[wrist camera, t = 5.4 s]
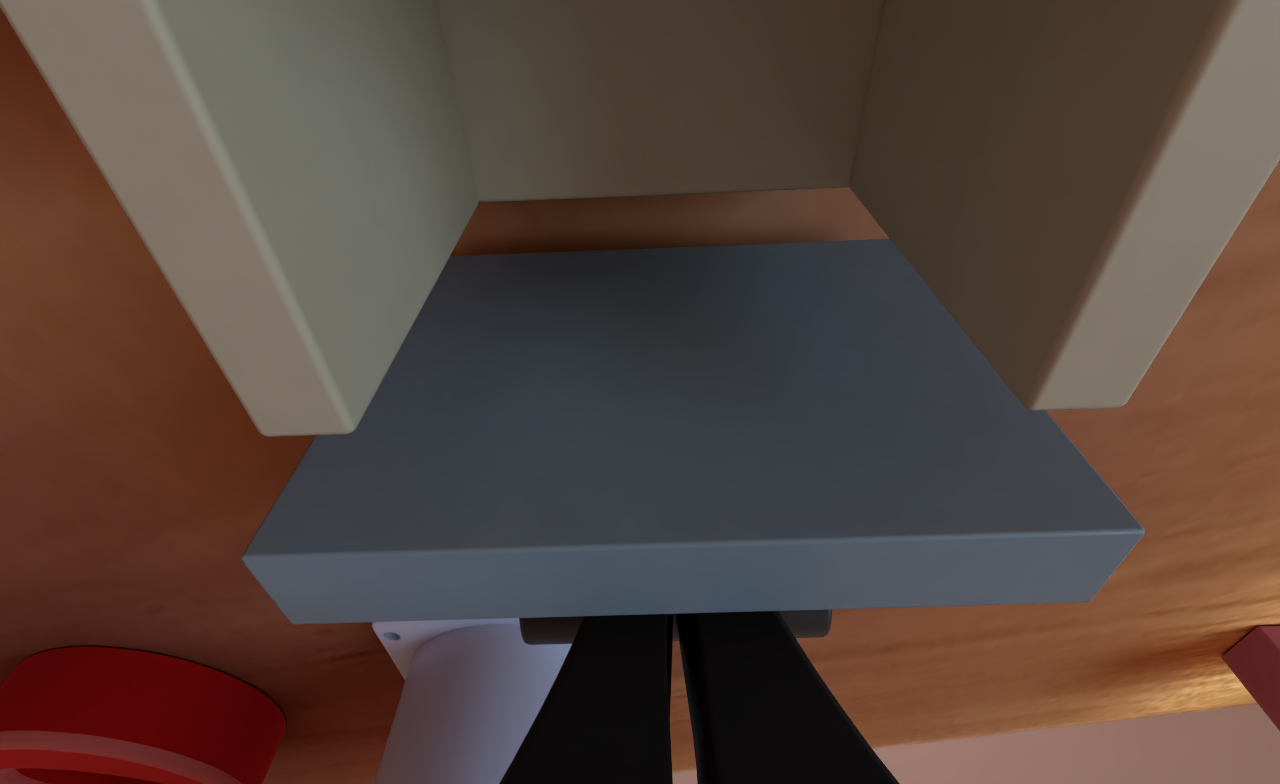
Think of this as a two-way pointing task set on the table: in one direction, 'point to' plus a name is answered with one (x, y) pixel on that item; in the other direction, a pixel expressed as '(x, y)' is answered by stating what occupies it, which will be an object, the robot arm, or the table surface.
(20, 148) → the table surface
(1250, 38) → the drawer
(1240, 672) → the pink block with knob
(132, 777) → the decorative ornament
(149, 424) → the table surface
